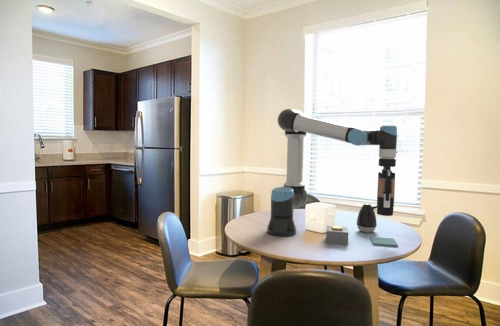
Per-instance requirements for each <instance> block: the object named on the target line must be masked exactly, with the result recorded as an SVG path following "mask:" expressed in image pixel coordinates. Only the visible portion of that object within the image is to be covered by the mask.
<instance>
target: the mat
mask: <svg viewBox="0 0 500 326" xmlns="http://www.w3.org/2000/svg"><path fill="white" fill-rule="evenodd" d="M370 241H371V244H372V246H378V247H379V246H381V247H392V248H399V244H398V243H397V241H396V240H395V238H394V237H393V238H391V237H380V236H379V237H378V236H370Z"/></svg>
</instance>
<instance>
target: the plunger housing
mask: <svg viewBox="0 0 500 326" xmlns="http://www.w3.org/2000/svg"><path fill="white" fill-rule="evenodd" d="M333 226H334V225H326V235H325V238H326V240H325V244H330V245H341V246H348V245H349V227H347V226H341V227H342V231H339V230H333Z"/></svg>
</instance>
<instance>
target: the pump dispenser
mask: <svg viewBox="0 0 500 326" xmlns="http://www.w3.org/2000/svg"><path fill="white" fill-rule="evenodd" d="M376 209H377V205H374V206H372V205H371V204H370V203H364V204H363V205H362V206H361V207H360V209H359V212H358V215H357V219H356V226H357V229H358V230H359V232H361V233H365V234H370V233H373V232H374V231H375V229H376V227H377V223H378V222H377V216H376V212H375V210H376Z"/></svg>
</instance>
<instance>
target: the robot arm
mask: <svg viewBox="0 0 500 326" xmlns="http://www.w3.org/2000/svg"><path fill="white" fill-rule="evenodd" d="M277 124H278V126H279V128H281V129H282V130H283V131H284V135H285V137H286V139H287V143H286V145H287V148H286V149H287V150H286V152H287V153H286V181H285V182H284V183H283V186H278V187H274V188H273V189H272V190H271V194H270V219H269V222H268V224H267V227H266V233H267V234H269V235H272V236H276V237H290V236H291V237H292V236H294V235H296V234H297V228H296V225H295V220H294V210H296V209H300V208H302V207H303V206H304V205H305V204H307V201H308V192H307V191H306V188H305V186H306V185H305V183H304V182H303V166H304V165H303V164H304V163H303V161H304V157H303V155H304V138H305V137H306V136H307V134H312V135H315V136H320V137H324V138H329V139H332V140H336V141H339V142H343V143H344V142H345V143H348V144H352V145H353V146H357V147H358V146H378V147H379V148H378V167H383V168H382V169H381V173H386V181H385V192H383V194H384V206H383V207H385V208H390V194H391V192H392V191H391V187H392V173H393V170H391V168H394V167H396V164H397V159H396V158H397V154H398V151H397V143H398V142H397V141H398V127H397V126H396V125H394V124H391V125H390V124H387V125H380V127H379V128H378V129H365V128H359V127H354V126H349V125H346V124H345V125H344V124H341V123H336V122H331V121H327V120H322V119H319V118H318V119H317V118H313V117H309V115H308V114H307V113H306V112H305V111H302V110H298V109H291V108H286V109H283V110H282V111H280V113H279V114H278V116H277Z"/></svg>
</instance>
